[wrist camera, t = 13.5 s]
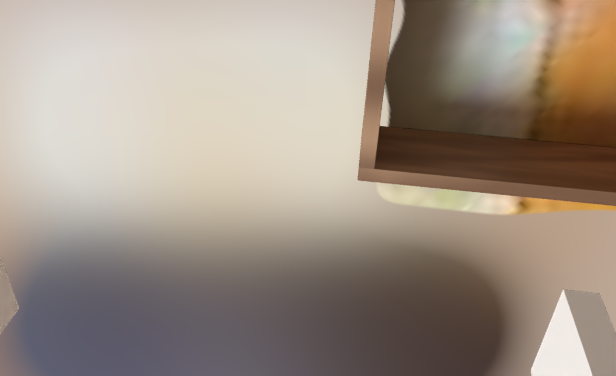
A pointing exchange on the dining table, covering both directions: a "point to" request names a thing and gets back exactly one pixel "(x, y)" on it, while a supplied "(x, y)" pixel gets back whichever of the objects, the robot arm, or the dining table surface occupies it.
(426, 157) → the rectangular wooden frame
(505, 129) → the dining table surface
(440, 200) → the dining table surface
